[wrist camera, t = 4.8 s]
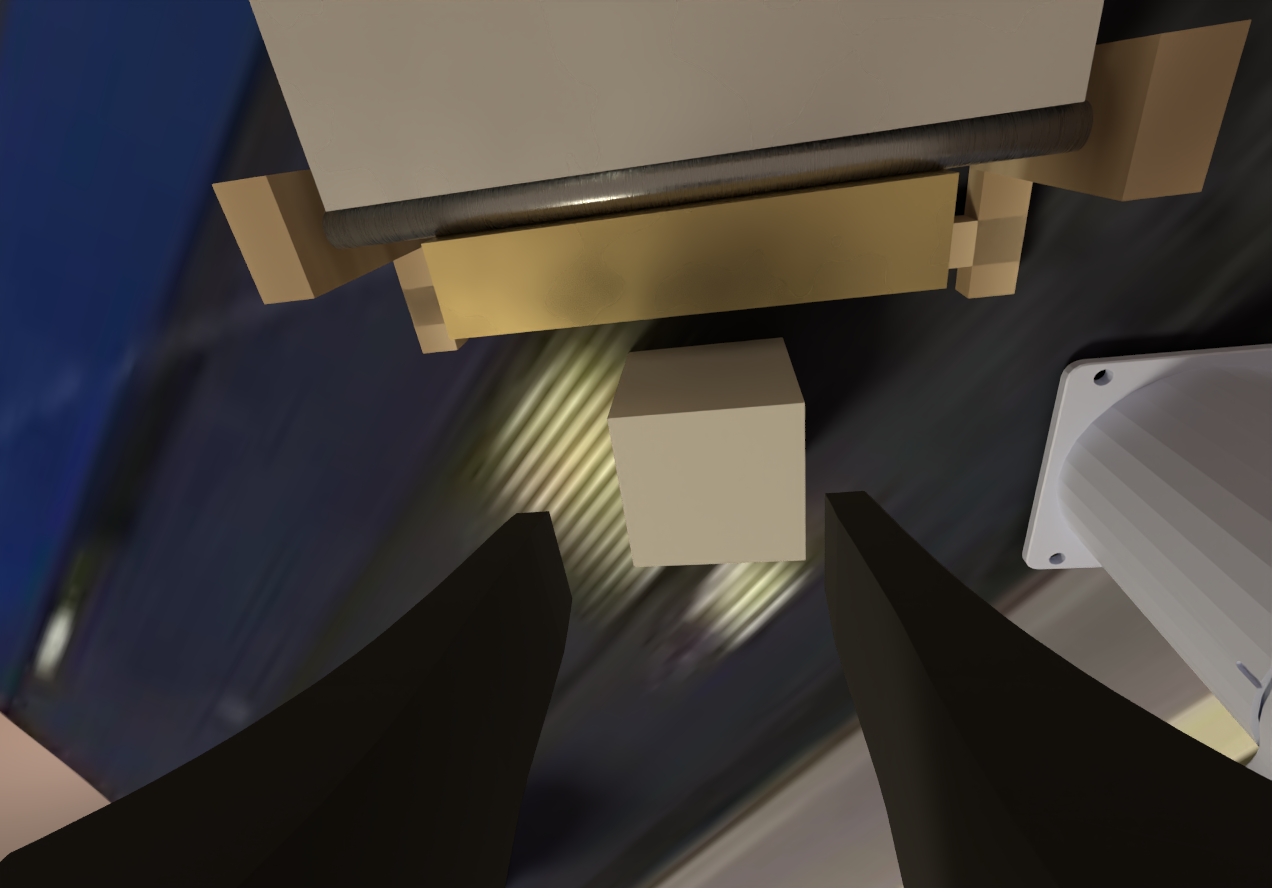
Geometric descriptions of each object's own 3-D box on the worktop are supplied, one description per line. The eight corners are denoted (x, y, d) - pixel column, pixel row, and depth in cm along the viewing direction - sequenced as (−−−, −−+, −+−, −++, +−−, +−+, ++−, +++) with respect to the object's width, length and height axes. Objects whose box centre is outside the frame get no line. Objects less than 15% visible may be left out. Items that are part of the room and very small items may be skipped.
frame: (1036, 41, 15) (1259, -6, 9) (998, 284, 17) (1148, 373, 12) (374, 148, 17) (204, 167, 12) (435, 342, 20) (323, 438, 14)
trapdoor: (1157, -452, 8) (1254, -572, 6) (1033, 256, 12) (1074, 274, 11) (210, -193, 10) (132, -242, 9) (390, 326, 14) (356, 349, 13)
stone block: (782, 336, 19) (804, 402, 15) (785, 469, 21) (805, 559, 17) (629, 351, 20) (607, 418, 15) (648, 477, 22) (634, 566, 18)
